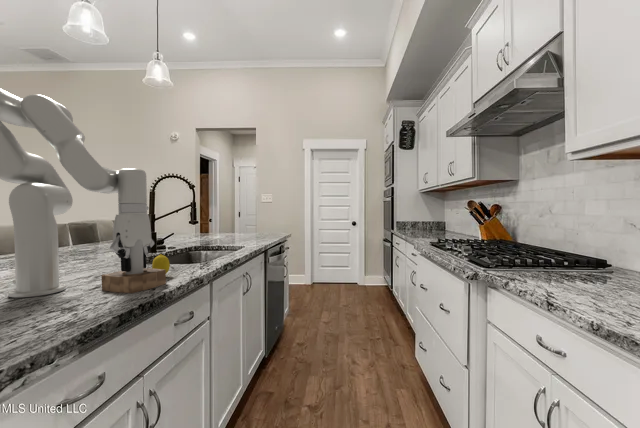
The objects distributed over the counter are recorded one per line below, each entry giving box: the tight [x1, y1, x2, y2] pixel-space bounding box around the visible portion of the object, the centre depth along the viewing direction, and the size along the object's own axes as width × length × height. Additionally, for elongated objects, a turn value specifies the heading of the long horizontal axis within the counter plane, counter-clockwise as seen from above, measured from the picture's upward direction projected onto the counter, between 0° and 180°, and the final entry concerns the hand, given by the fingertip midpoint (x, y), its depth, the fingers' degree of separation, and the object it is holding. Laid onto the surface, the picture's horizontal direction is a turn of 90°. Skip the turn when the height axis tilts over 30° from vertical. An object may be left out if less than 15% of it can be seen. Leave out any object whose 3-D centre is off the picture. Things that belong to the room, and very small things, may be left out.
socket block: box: [101, 267, 167, 294], centre depth 99 cm, size 13×13×4 cm
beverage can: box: [125, 239, 144, 275], centre depth 99 cm, size 5×5×12 cm
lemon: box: [151, 253, 171, 274], centre depth 113 cm, size 6×6×8 cm
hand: (134, 269), depth 99 cm, fingers closed on beverage can, 4 cm apart
